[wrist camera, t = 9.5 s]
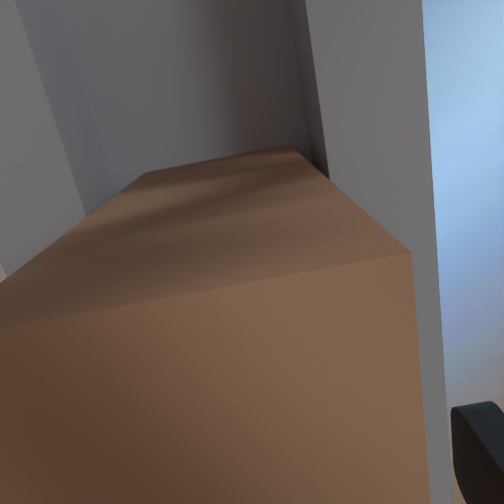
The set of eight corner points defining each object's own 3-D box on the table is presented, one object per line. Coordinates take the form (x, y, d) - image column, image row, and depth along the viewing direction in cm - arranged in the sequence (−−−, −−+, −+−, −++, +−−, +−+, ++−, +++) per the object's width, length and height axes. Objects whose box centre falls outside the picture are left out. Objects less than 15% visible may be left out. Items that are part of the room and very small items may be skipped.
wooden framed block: (288, 143, 12) (410, 252, 3) (342, 479, 16) (462, 921, 7) (137, 173, 12) (-104, 349, 4) (228, 499, 16) (215, 955, 7)
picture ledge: (355, -131, 11) (407, -233, 8) (422, 556, 19) (461, 654, 15) (-34, -43, 11) (-149, -103, 8) (190, 594, 19) (180, 698, 16)
